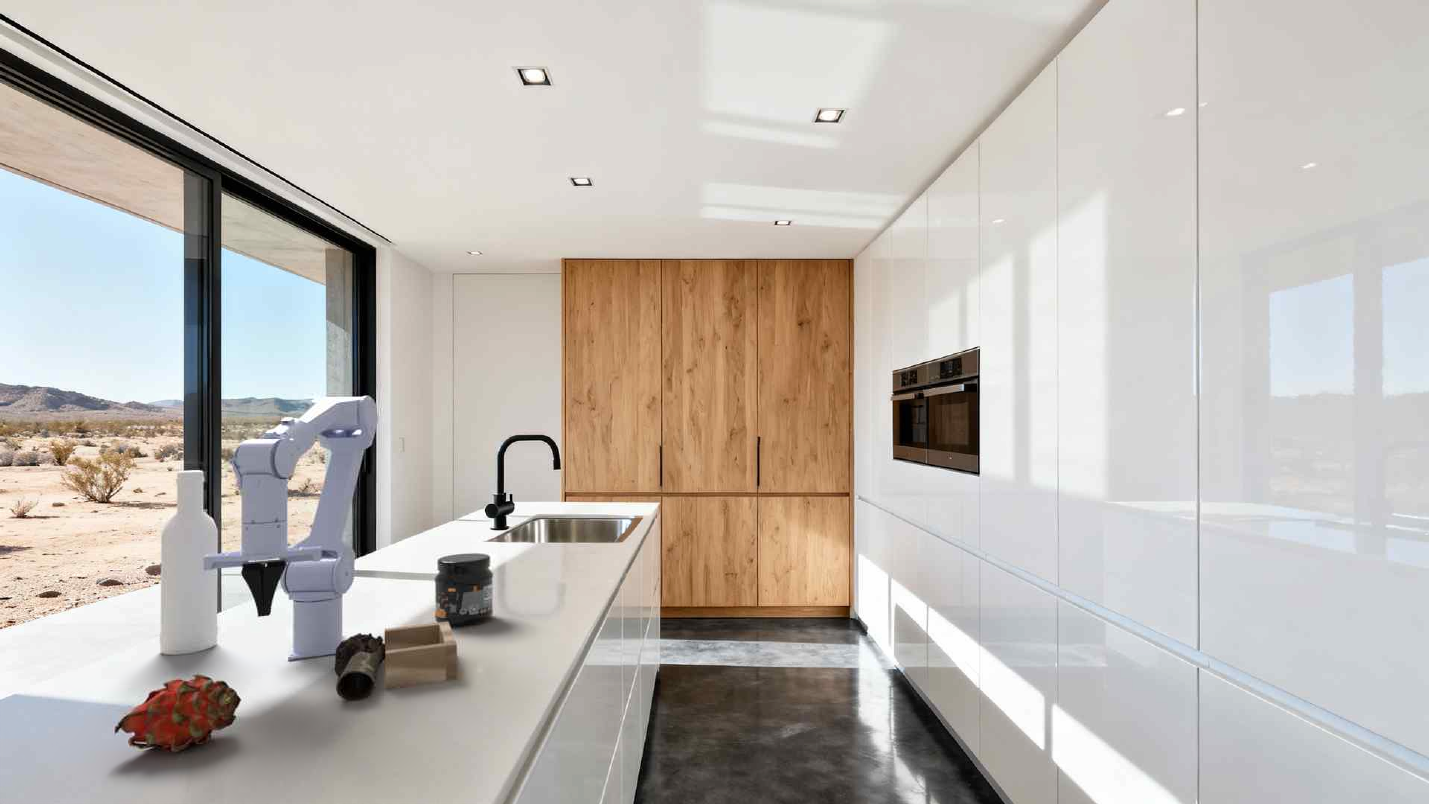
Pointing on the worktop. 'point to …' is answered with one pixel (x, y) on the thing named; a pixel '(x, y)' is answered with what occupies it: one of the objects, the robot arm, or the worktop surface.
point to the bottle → (188, 572)
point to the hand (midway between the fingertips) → (264, 614)
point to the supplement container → (463, 589)
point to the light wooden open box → (420, 654)
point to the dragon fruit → (181, 714)
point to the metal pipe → (358, 666)
